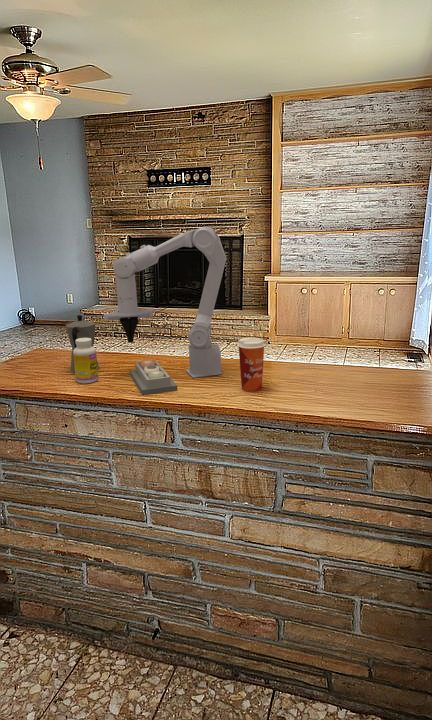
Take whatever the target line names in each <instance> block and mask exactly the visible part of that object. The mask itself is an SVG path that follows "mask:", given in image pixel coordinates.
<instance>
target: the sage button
mask: <svg viewBox="0 0 432 720" xmlns="http://www.w3.org/2000/svg"><path fill="white" fill-rule="evenodd" d="M160 377H164V372H162V371H152V372H149V373H148V378H149V379H152V378H160Z"/></svg>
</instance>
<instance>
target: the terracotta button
mask: <svg viewBox="0 0 432 720" xmlns="http://www.w3.org/2000/svg"><path fill="white" fill-rule="evenodd" d="M139 362H140V366H141V367H146V366H151V365H155V361H152V360H151V359H148V360H147V359H146V360H141V361H139Z"/></svg>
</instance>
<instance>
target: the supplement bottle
mask: <svg viewBox="0 0 432 720" xmlns="http://www.w3.org/2000/svg"><path fill="white" fill-rule="evenodd" d="M75 342H76V345H77V347H76V348H75V349H74V350H73V356H74V365H75V373H74V375H75V381H76V382H77V383H78V384H92V383H94V382H97V381H98V380H99V369H98V368H97V362H98V359H97V349H96V348H95V347H94V345H93V346H91V344H92V339H91V338H79V339H76V340H75Z"/></svg>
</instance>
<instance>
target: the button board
mask: <svg viewBox="0 0 432 720" xmlns="http://www.w3.org/2000/svg"><path fill="white" fill-rule="evenodd" d="M152 361H155V366H159V371H162V372H164V377H160V378H152V379H149V378H148V373H149V372H148V373H145V372H144V367H141V366H140V362H141V361H137V362H134V368H135V369H130V370H129V376H130V377H131V379H132V381H133V382H134V384H135V386H136V387H137V389H138V391H139V392H140V395H142V396H147V395H148V396H149V395H155V394H161V393H169V392H176V391H178V384H177V383H176V382H175V381H174V379H173V378H172V377H171V376H170V374H168V372H167V371H166V370H165V369H164V368H163V366H162V365H161V364H160V363H159V362H158V361H157V360H156V359H154V360H152Z"/></svg>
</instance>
